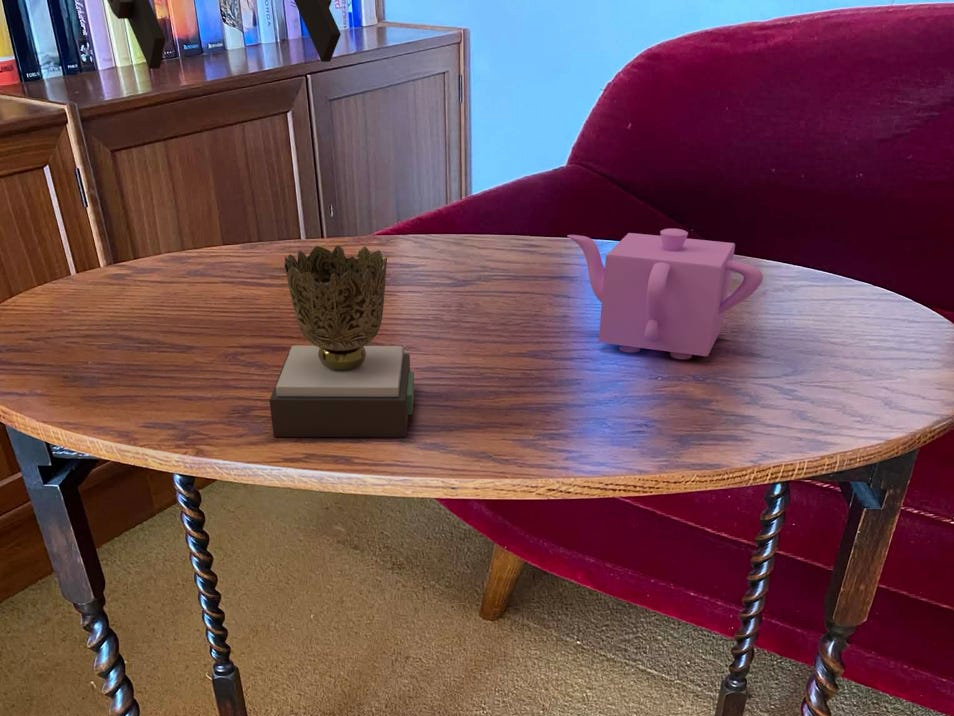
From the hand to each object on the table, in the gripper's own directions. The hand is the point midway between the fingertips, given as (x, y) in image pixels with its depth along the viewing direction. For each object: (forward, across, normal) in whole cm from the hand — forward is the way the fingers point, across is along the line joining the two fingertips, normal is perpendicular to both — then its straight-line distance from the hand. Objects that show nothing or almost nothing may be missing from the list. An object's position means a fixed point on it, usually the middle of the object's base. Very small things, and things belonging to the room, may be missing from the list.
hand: (248, 51), depth 69 cm
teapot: (+26, -33, -8) cm, 42 cm away
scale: (+24, 0, -9) cm, 26 cm away
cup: (+22, 0, -7) cm, 23 cm away
